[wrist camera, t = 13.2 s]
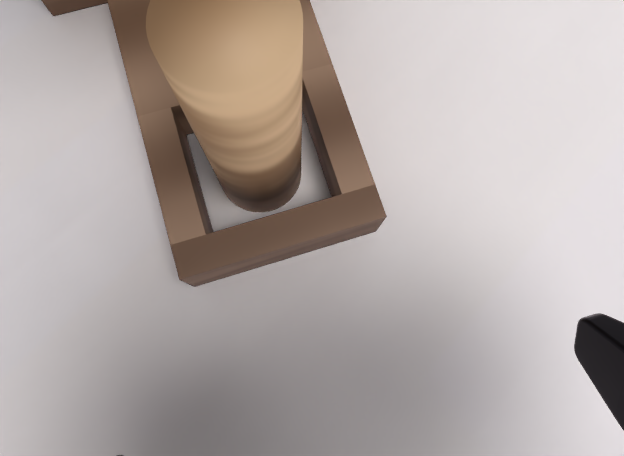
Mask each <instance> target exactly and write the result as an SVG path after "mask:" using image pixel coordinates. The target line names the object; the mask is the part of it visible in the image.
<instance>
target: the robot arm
mask: <svg viewBox="0 0 624 456" xmlns="http://www.w3.org/2000/svg"><path fill="white" fill-rule="evenodd" d="M574 349H575V354H576V356H577V358H578V360H579V362H580V363H581V365H582V366H583V368H584V370H585V371H586V373H587V374H588V376H589V378H590V379H591V381H592V382H593V384H594V385H595V387H596V389H597V390H598V392H599V393H600V395H601V397H602V398H603V400H604V401H605V403H606V404H607V406H608V408H609V409H610V411H611V412H612V414H613V415H614V417H615V419H616V420H617V422H618V423H619V424H620V426H621V427H622V429H623V430H624V323H623V322H621V321H618V320H616V319H614V318H612V317H609V316H607V315H604V314H593V315H590V316H587V317H583V318H581V319H580V320H579V322H578V325H577V332H576V338H575V344H574ZM118 456H123V455H118Z"/></svg>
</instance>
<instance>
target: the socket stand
mask: <svg viewBox="0 0 624 456" xmlns="http://www.w3.org/2000/svg"><path fill="white" fill-rule="evenodd" d="M41 1H42V2H43V3H44V5H45V6H46V7H47V8H48V10H49V11H50V12H51V14H52V15H53V16H55V15H59V14H63V13H67V12H71V11H76V10H80V9H84V8H88V7H92V6H96V5H100V4H104V3H108V5H109V9H110V12H111V16H112V20H113V24H114V28H115V32H116V36H117V40H118V43H119V47H120V51H121V55H122V59H123V63H124V67H125V71H126V75H127V78H128V82H129V86H130V90H131V94H132V98H133V102H134V106H135V109H136V113H137V117H138V121H139V125H140V129H141V133H142V137H143V140H144V144H145V148H146V152H147V156H148V160H149V164H150V168H151V171H152V175H153V179H154V183H155V187H156V191H157V195H158V199H159V202H160V206H161V210H162V214H163V218H164V222H165V226H166V230H167V234H168V237H169V241H170V245H171V249H172V253H173V257H174V261H175V265H176V268H177V272H178V276H179V280H181V281H184V282H186V283H188V284H190V285H192V286H194V287H196V286H199V285H202V284H205V283H209V282H212V281H215V280H218V279H222V278H225V277H228V276H232V275H235V274H238V273H241V272H245V271H248V270H251V269H254V268H258V267H261V266H264V265H267V264H271V263H274V262H277V261H281V260H284V259H287V258H290V257H294V256H297V255H300V254H303V253H307V252H310V251H313V250H317V249H320V248H323V247H326V246H330V245H333V244H336V243H339V242H343V241H346V240H349V239H352V238H356V237H359V236H362V235H366V234H369V233H372V232H375V231H376V230H377V229H378V228H379V226H380V225H381V223H382V222H383V221H384V219H385V218H386V214H385V211H384V208H383V205H382V203H381V200H380V197H379V194H378V191H377V188H376V186H375V183H374V180H373V177H372V174H371V172H370V169H369V166H368V163H367V160H366V158H365V155H364V152H363V149H362V146H361V144H360V141H359V138H358V135H357V132H356V129H355V127H354V124H353V121H352V118H351V115H350V113H349V110H348V107H347V104H346V101H345V99H344V96H343V93H342V90H341V87H340V84H339V82H338V79H337V76H336V73H335V70H334V68H333V65H332V62H331V59H330V56H329V54H328V51H327V48H326V45H325V42H324V39H323V37H322V34H321V31H320V28H319V25H318V23H317V20H316V17H315V14H314V11H313V9H312V6H311V3H310V0H300V3H301V7H302V12H303V72H302V109H303V112H304V115H305V118H306V121H307V124H308V127H309V130H310V133H311V136H312V139H313V142H314V145H315V148H316V151H317V154H318V157H319V160H320V163H321V166H322V169H323V172H324V175H325V178H326V181H327V184H328V187H329V190H330V193H331V196H332V197H331V198H327V199H324V200H320V201H317V202H314V203H310V204H307V205H304V206H300V207H297V208H294V209H290V210H287V211H283V212H280V213H277V214H273V215H270V216H267V217H263V218H260V219H256V220H253V221H250V222H246V223H243V224H240V225H236V226H233V227H229V228H226V229H223V230H219V231H216V232H213V230H212V226H211V223H210V219H209V215H208V212H207V208H206V205H205V201H204V197H203V194H202V190H201V187H200V183H199V179H198V176H197V172H196V169H195V165H194V161H193V158H192V154H191V151H190V147H189V143H188V140H187V136H186V135H187V134H191V133H194V131H193V130H192V128H191V126H190V124H189V122H188V120H187V118H186V116H185V114H184V112H183V110H182V108H181V106H180V104H179V102H178V100H177V98H176V96H175V94H174V93H173V91H172V89H171V87H170V85H169V83H168V81H167V79H166V77H165V75H164V73H163V71H162V69H161V67H160V65H159V63H158V61H157V59H156V57H155V56H154V54H153V51H152V49H151V47H150V45H149V41H148V38H147V32H146V15H147V9H148V6H149V3H150V0H41Z"/></svg>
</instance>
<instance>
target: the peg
mask: <svg viewBox="0 0 624 456" xmlns="http://www.w3.org/2000/svg"><path fill="white" fill-rule="evenodd" d="M146 32H147V38H148V41H149V45H150V47H151V49H152V51H153V54H154V56H155V57H156V59H157V61H158V63H159V65H160V67H161V69H162V71H163V73H164V75H165V77H166V79H167V81H168V83H169V85H170V87H171V89H172V91H173V93H174V94H175V96H176V98H177V100H178V102H179V104H180V106H181V108H182V110H183V112H184V114H185V116H186V118H187V120H188V122H189V124H190V126H191V128H192V130H193V131H194V133H195V135H196V137H197V139H198V141H199V143H200V145H201V147H202V149H203V151H204V153H205V155H206V157H207V159H208V161H209V163H210V165H211V167H212V168H213V170H214V172H215V174H216V176H217V178H218V180H219V182H220V184H221V186H222V188H223V190H224V192H225V193H226V195H227V196H228V198H229V199H230V200H231V201H232V202H233V203H234V204H236V205H237V206H239V207H241V208H243V209H245V210H248V211H252V212H267V211H272V210H275V209H277V208H279V207H281V206H283V205H284V204H286V203H287V202H288V201H289V200H290V199H291V198H292V197H293V196H294V194H295V193H296V191H297V189H298V186H299V184H300V179H301V140H302V72H303V12H302V7H301V3H300V0H150V3H149V6H148V9H147V15H146Z"/></svg>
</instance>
